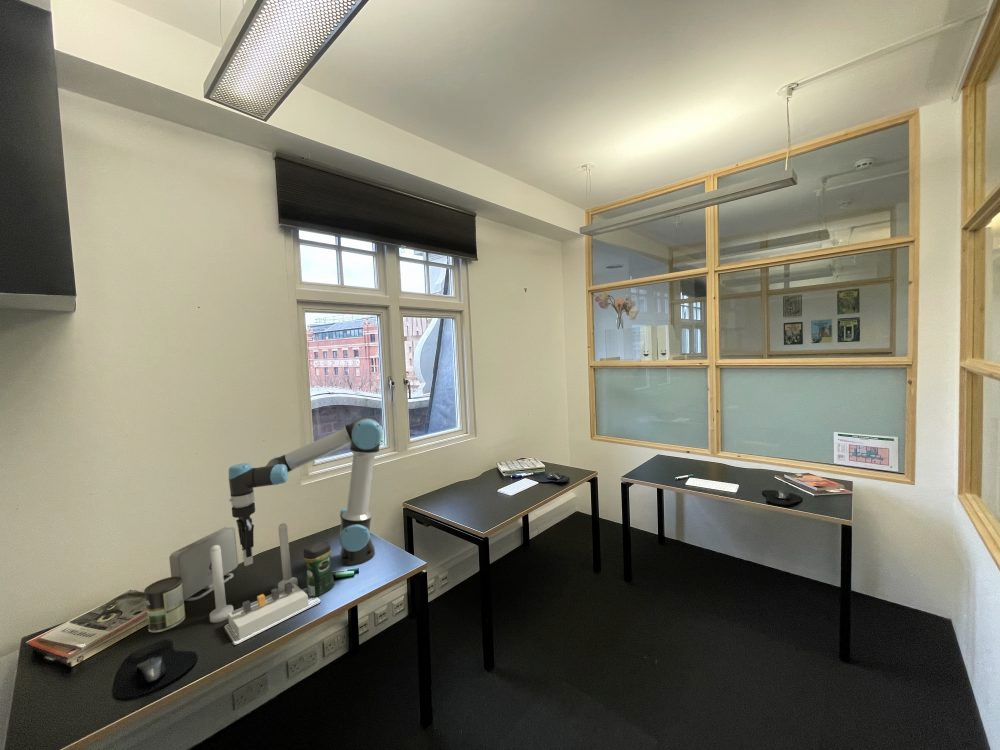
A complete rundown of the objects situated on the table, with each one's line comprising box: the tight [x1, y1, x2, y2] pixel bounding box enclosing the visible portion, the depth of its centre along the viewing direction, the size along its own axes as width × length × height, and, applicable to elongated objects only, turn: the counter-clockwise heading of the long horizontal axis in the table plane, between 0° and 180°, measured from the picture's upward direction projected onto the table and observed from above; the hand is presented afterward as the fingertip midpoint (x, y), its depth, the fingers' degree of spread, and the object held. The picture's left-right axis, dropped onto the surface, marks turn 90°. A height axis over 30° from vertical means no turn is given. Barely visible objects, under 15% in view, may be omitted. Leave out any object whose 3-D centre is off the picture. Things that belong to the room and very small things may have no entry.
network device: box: [168, 526, 239, 602], centre depth 164 cm, size 26×9×20 cm, turn 168°
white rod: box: [277, 522, 299, 591], centre depth 159 cm, size 7×7×26 cm
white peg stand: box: [209, 545, 235, 624], centre depth 143 cm, size 7×7×26 cm
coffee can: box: [143, 576, 186, 634], centre depth 141 cm, size 10×10×14 cm
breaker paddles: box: [241, 582, 294, 615], centre depth 142 cm, size 17×2×4 cm, turn 138°
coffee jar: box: [303, 539, 335, 597], centre depth 156 cm, size 10×8×19 cm
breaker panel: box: [228, 584, 309, 640], centre depth 142 cm, size 22×12×4 cm, turn 138°
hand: (248, 564), depth 156 cm, fingers closed
